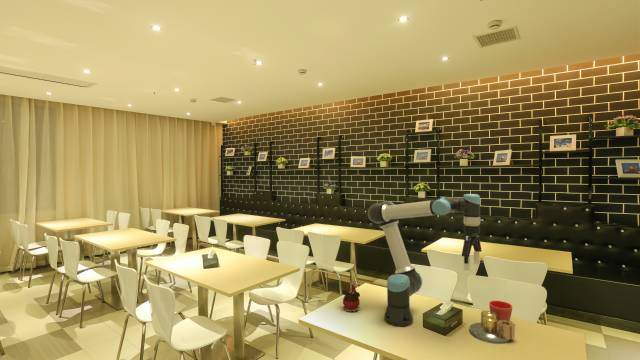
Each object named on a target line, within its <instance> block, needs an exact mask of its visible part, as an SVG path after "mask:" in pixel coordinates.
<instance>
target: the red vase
mask: <svg viewBox="0 0 640 360" xmlns="http://www.w3.org/2000/svg"><path fill="white" fill-rule="evenodd" d="M349 281H350V282H349V283H350V285H349V288H348V289H343V290H342V294H343V295H344V296H343V298H342V304H343V306H342V309H343V308H344V309H345V310H344V309H343V310H344V311H345V312H349V311H350V312H351V311H353V312H358V311H359V310H360V305H361V304H360V298H359V297H361V294H360V293H359V291H357V289H356V288H357V287H358V286H359V284H358V283H354V284H353V279H352V278H350V279H349ZM356 310H357V311H356Z"/></svg>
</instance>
